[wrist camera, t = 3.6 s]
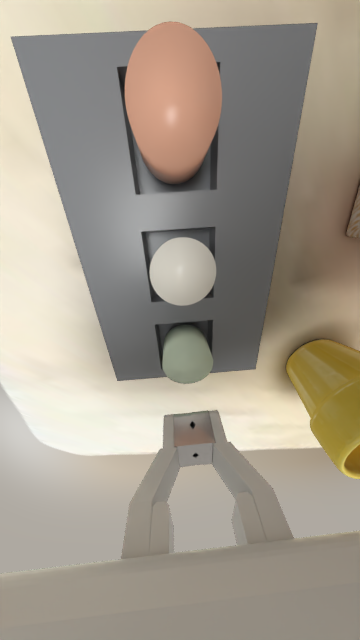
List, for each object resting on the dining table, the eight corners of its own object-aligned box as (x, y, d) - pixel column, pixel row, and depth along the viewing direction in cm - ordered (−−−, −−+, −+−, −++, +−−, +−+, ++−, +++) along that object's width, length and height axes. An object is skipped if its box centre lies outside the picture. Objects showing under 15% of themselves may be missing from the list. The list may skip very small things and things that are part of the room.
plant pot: (341, 384, 23) (444, 473, 15) (267, 395, 23) (325, 489, 15) (368, 318, 19) (543, 390, 10) (276, 332, 19) (368, 414, 10)
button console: (279, 78, 10) (317, 23, 8) (243, 351, 20) (255, 369, 17) (52, 89, 10) (10, 36, 7) (124, 361, 19) (117, 380, 17)
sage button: (206, 322, 15) (214, 341, 12) (205, 358, 17) (212, 381, 14) (161, 326, 15) (159, 346, 12) (165, 361, 17) (165, 385, 14)
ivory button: (206, 235, 12) (217, 234, 9) (206, 290, 14) (215, 303, 11) (150, 239, 12) (144, 239, 9) (157, 293, 14) (154, 308, 11)
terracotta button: (207, 86, 9) (224, 18, 6) (207, 182, 11) (219, 163, 8) (131, 90, 9) (114, 23, 6) (143, 186, 10) (134, 168, 8)
